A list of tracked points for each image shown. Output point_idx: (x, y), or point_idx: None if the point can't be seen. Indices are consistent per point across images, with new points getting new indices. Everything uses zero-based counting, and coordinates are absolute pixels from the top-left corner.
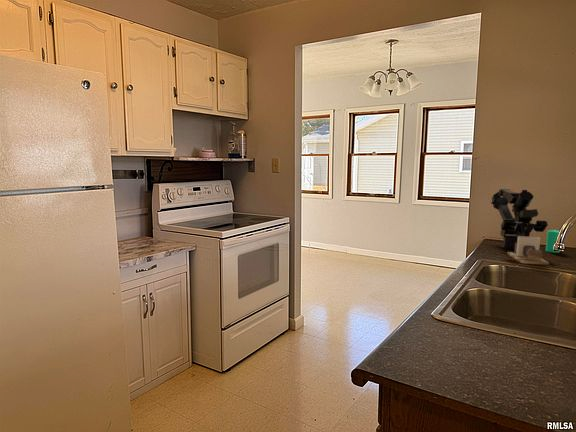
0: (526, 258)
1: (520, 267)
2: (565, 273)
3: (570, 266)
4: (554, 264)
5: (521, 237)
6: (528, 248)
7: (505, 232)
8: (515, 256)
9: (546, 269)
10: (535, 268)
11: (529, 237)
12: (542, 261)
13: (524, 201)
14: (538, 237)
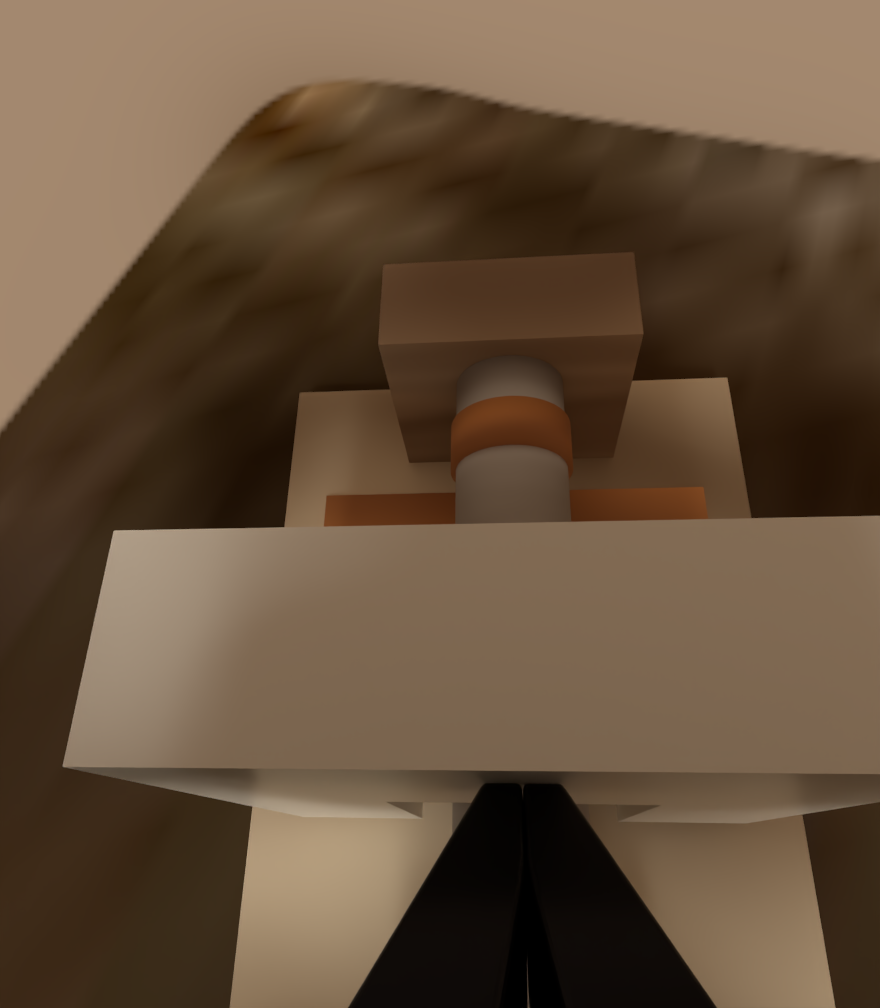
0: None
1: (786, 174)
2: (326, 87)
3: (32, 405)
4: (202, 461)
5: (874, 522)
6: None
7: None
8: None
9: (468, 176)
10: (595, 182)
11: (539, 529)
12: (373, 435)
13: None
14: (135, 618)
